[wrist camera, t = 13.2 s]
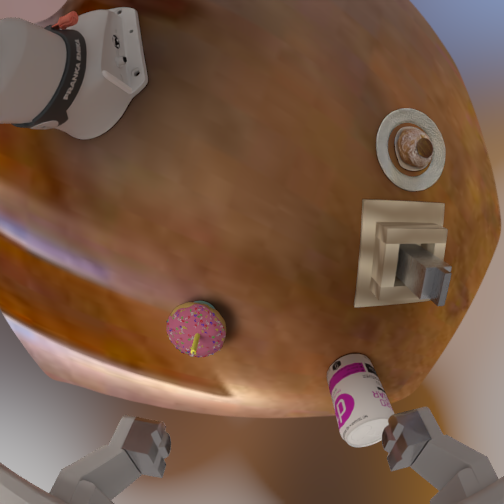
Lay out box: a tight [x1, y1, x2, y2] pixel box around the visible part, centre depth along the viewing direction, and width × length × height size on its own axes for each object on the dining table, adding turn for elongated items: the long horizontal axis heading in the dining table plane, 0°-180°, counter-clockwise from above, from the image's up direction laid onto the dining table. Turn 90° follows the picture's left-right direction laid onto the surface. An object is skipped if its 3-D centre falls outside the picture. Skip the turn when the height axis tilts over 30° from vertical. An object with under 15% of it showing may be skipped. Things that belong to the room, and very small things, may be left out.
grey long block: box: [396, 244, 452, 306], centre depth 32 cm, size 4×4×12 cm
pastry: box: [376, 108, 445, 191], centre depth 32 cm, size 12×12×5 cm
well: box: [354, 199, 448, 307], centre depth 36 cm, size 16×14×5 cm
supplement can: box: [327, 354, 394, 447], centre depth 38 cm, size 8×8×15 cm
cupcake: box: [167, 301, 226, 357], centre depth 37 cm, size 9×8×12 cm
